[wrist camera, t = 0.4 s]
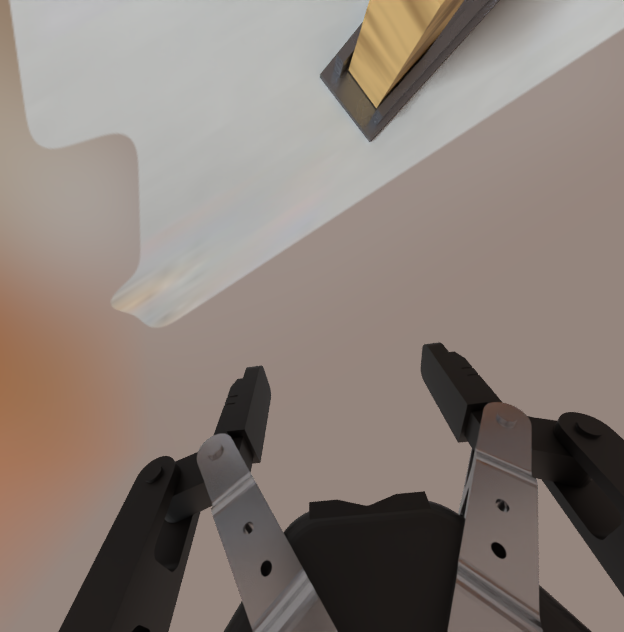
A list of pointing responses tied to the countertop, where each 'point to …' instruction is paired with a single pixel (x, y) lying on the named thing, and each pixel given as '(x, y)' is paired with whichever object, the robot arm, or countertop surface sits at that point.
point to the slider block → (396, 41)
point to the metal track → (375, 119)
